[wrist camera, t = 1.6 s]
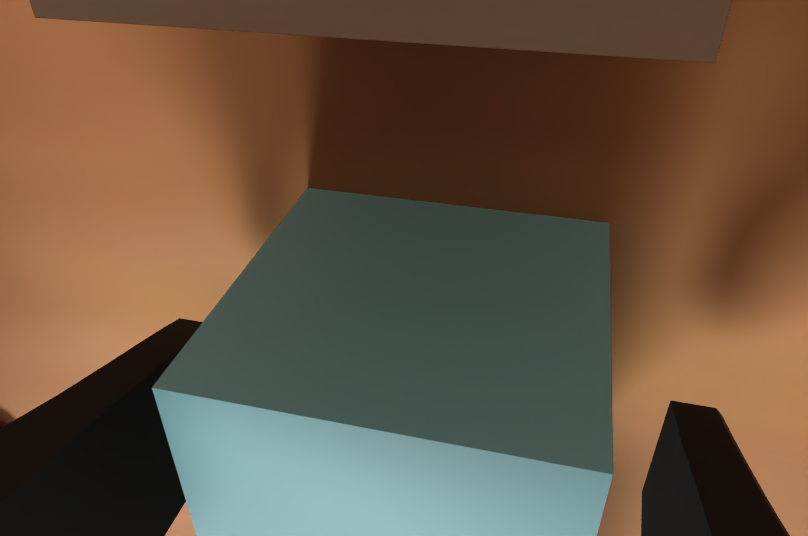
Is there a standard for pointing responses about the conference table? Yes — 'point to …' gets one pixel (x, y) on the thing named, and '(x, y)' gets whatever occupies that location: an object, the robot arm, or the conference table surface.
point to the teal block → (401, 377)
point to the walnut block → (443, 22)
